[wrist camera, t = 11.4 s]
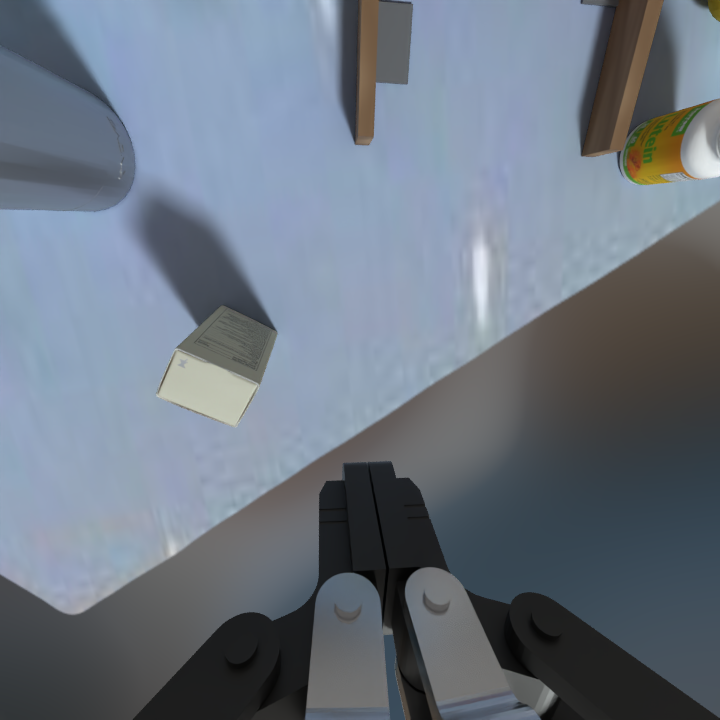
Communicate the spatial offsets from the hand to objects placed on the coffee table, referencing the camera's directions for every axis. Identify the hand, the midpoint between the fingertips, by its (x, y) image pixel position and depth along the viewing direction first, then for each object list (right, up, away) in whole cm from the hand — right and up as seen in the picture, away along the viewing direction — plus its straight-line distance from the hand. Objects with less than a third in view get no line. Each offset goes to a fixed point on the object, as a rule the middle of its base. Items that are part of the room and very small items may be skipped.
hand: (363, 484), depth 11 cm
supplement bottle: (+26, +23, +22) cm, 41 cm away
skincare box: (-12, +6, +25) cm, 29 cm away
